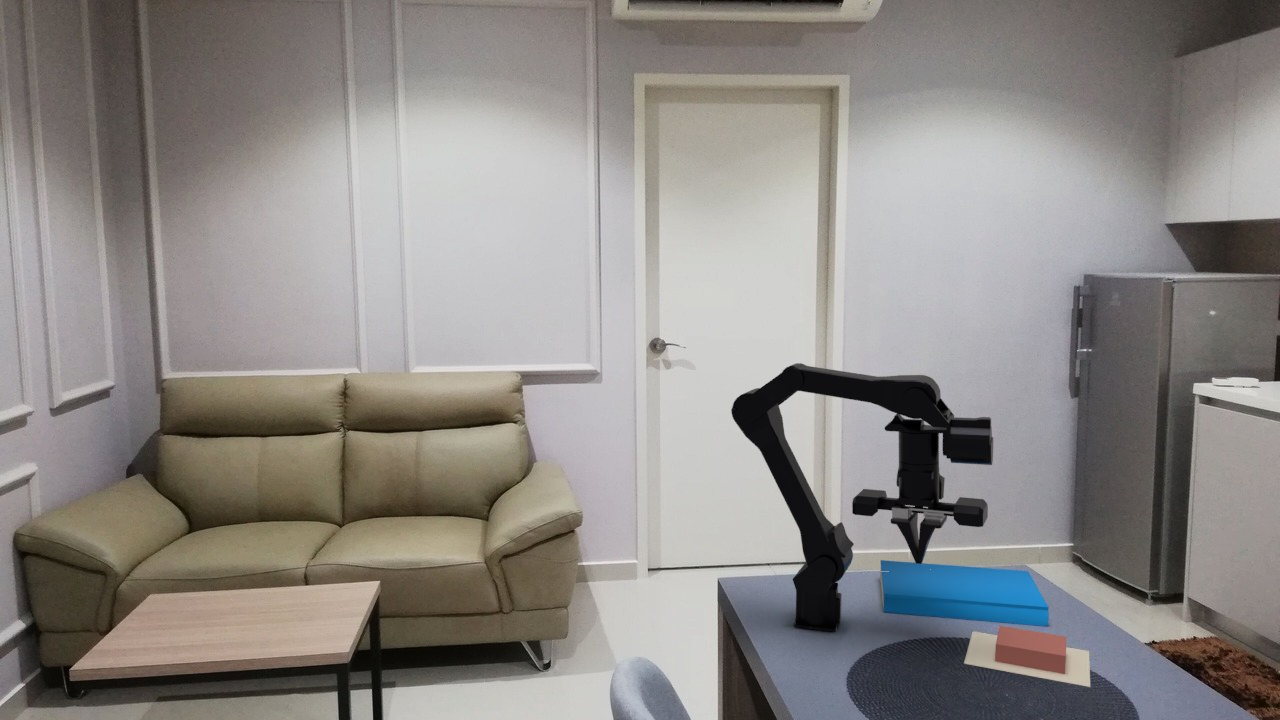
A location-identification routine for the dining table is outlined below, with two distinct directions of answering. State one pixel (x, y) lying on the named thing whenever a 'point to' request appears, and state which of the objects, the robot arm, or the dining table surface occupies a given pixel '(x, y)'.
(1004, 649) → the card box
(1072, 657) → the mat
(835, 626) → the robot arm
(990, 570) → the book
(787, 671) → the dining table surface
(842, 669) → the dining table surface
